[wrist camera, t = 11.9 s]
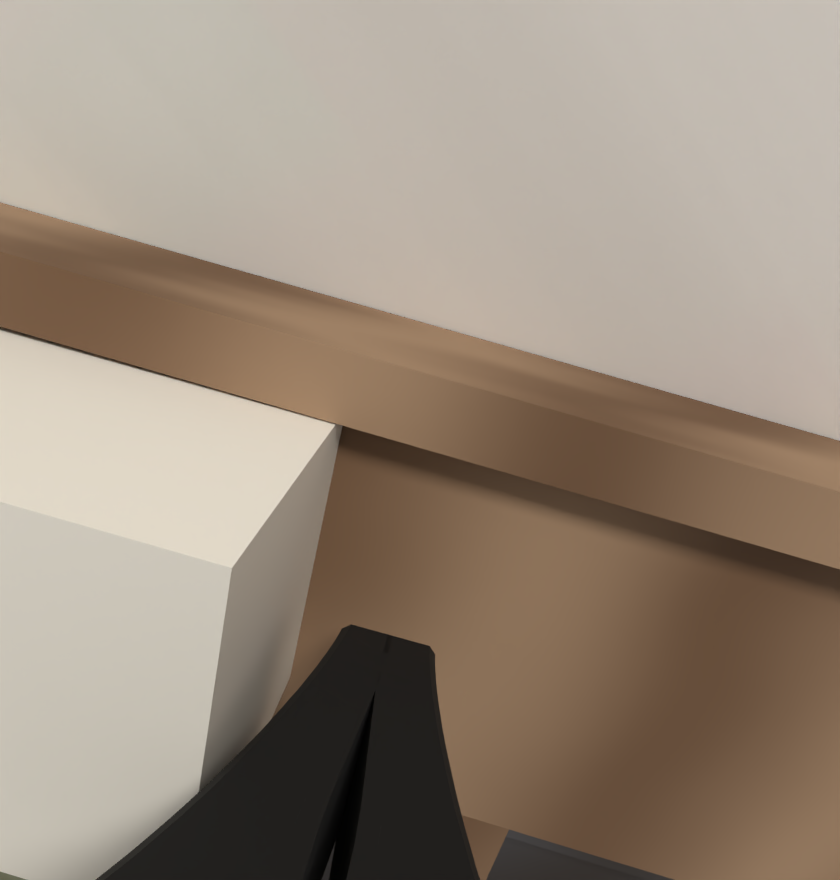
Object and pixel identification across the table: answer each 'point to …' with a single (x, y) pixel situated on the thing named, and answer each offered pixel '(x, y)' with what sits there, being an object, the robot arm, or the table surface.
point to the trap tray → (528, 561)
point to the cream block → (139, 593)
